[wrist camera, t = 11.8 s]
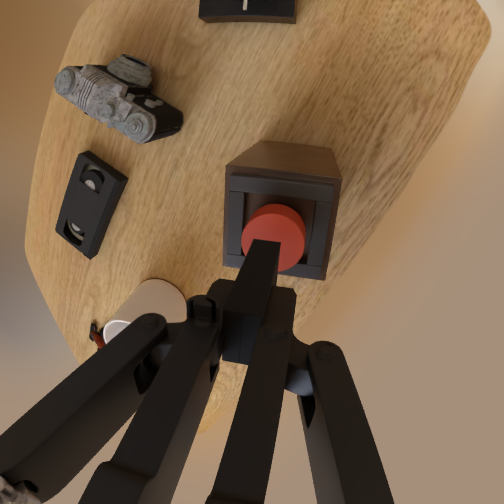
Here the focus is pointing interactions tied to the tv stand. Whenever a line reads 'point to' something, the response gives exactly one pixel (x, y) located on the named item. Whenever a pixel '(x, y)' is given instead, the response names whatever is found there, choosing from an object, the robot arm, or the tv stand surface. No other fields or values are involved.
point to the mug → (148, 306)
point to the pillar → (284, 198)
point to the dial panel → (248, 11)
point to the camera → (120, 98)
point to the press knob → (277, 232)
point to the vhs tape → (89, 203)
